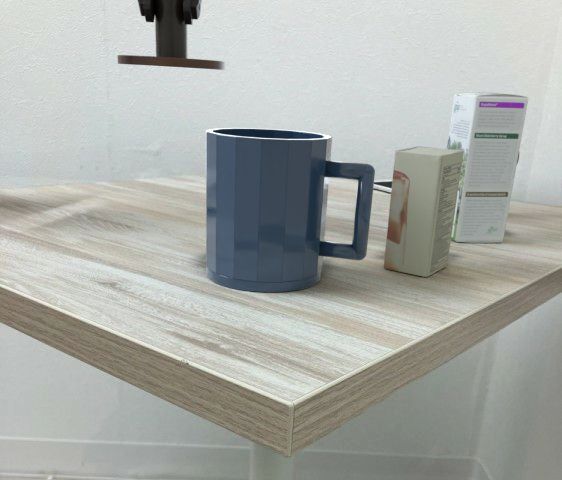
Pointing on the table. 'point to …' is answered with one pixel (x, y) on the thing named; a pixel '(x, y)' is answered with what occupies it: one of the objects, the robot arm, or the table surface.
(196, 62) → the lid
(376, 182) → the cell phone
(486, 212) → the syrup box
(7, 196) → the table surface
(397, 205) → the printed cream carton
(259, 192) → the blue faceted mug
